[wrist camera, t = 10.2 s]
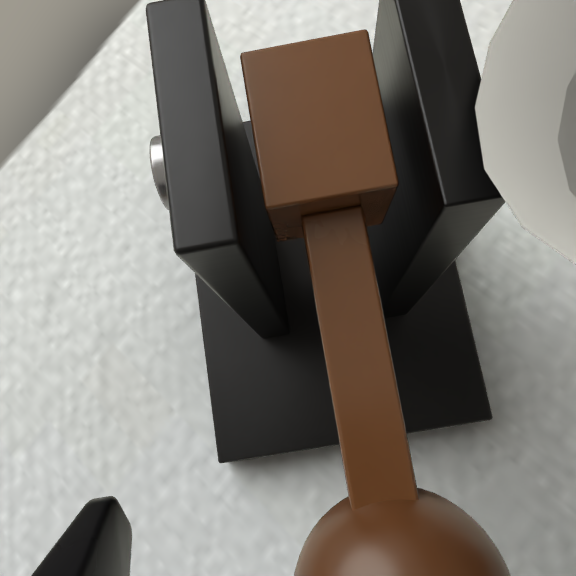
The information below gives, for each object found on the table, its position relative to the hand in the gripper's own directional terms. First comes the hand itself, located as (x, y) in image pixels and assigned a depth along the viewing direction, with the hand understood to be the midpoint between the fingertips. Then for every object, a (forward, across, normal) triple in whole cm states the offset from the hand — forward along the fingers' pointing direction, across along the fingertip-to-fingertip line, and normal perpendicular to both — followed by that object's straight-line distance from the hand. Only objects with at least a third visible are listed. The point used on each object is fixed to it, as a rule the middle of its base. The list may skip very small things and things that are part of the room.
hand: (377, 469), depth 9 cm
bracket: (+11, 0, +3) cm, 11 cm away
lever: (+2, 0, 0) cm, 2 cm away
